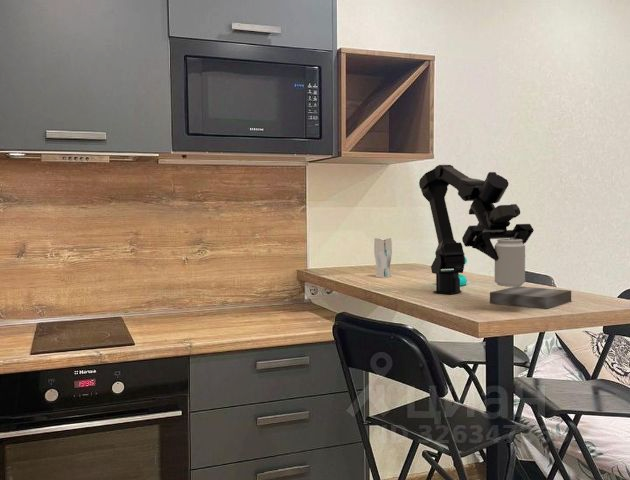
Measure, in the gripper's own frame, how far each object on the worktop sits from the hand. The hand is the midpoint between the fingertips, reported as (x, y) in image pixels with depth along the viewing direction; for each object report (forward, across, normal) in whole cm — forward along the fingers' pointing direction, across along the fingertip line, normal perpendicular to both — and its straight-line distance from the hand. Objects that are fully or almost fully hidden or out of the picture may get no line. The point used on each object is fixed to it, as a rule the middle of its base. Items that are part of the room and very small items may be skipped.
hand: (510, 259), depth 153 cm
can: (+5, 0, +5) cm, 7 cm away
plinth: (+4, +12, +15) cm, 20 cm away
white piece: (-48, -2, +68) cm, 83 cm away
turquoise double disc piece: (-25, +10, +45) cm, 53 cm away
